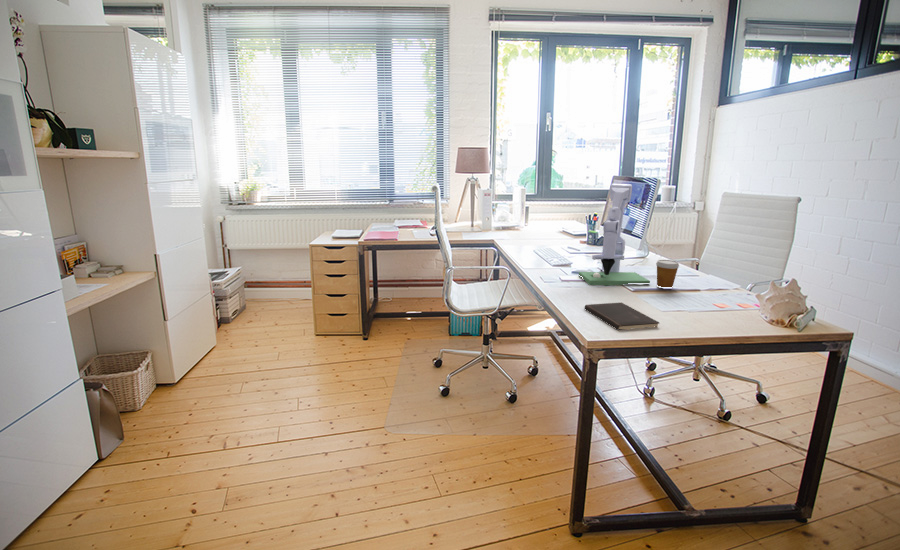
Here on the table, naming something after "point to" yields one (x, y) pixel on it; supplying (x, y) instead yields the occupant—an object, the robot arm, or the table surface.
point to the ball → (596, 275)
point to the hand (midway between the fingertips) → (606, 274)
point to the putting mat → (613, 278)
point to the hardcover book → (621, 315)
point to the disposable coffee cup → (666, 272)
